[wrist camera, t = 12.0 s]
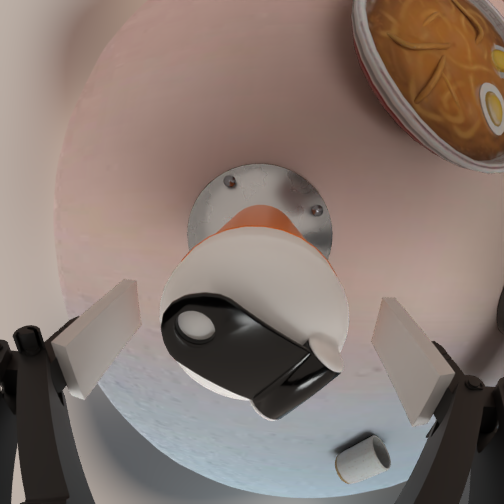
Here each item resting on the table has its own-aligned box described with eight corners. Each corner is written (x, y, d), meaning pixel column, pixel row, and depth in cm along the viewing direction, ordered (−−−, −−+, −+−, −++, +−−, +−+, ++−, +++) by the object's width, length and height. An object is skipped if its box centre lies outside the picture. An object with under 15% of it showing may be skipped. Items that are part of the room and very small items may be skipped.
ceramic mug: (329, 450, 40) (335, 484, 33) (368, 429, 38) (378, 463, 31) (357, 464, 42) (364, 493, 35) (392, 445, 40) (402, 474, 33)
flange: (292, 139, 27) (293, 138, 26) (350, 267, 30) (352, 269, 30) (165, 206, 30) (162, 207, 29) (231, 320, 33) (230, 324, 32)
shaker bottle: (245, 178, 28) (196, 198, 8) (321, 224, 28) (411, 328, 9) (202, 253, 30) (113, 380, 11) (274, 294, 31) (281, 454, 12)
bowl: (509, 118, 23) (557, 115, 14) (414, 207, 28) (466, 225, 18) (412, -18, 19) (443, -52, 9) (287, 41, 24) (294, -8, 14)
